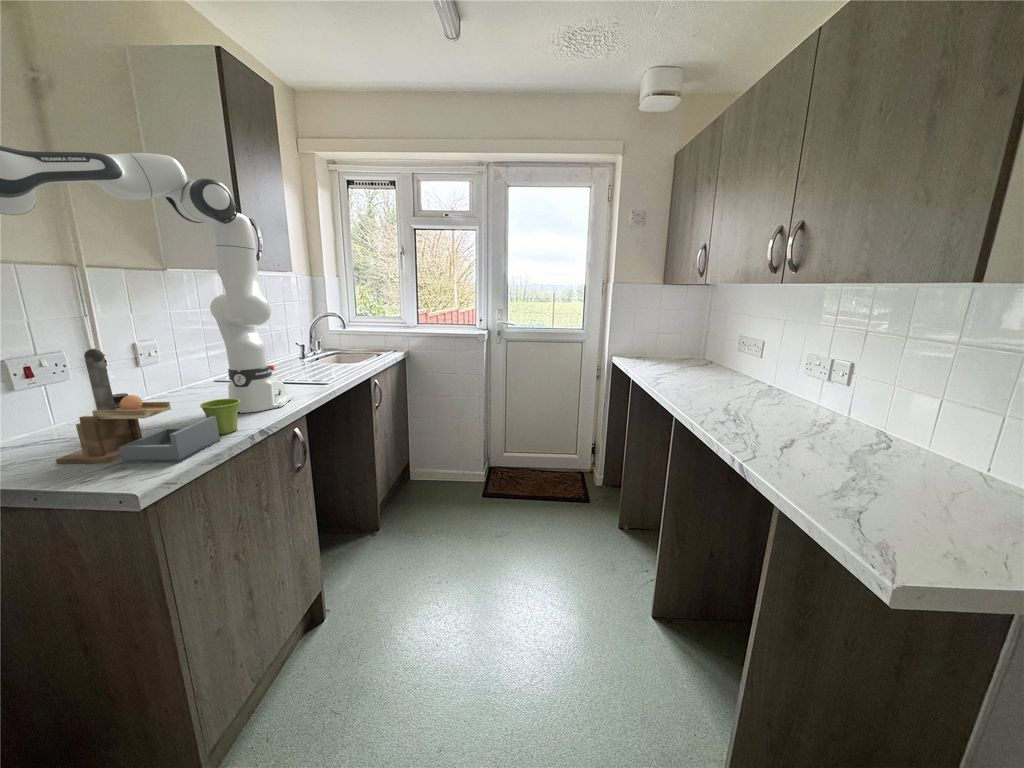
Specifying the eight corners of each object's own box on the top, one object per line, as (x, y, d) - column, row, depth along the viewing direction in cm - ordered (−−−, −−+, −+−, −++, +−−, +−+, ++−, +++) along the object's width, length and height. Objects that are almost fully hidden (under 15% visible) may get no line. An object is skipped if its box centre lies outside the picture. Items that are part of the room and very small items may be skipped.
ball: (132, 408, 104) (128, 393, 103) (148, 408, 104) (144, 393, 103) (117, 413, 100) (114, 397, 99) (134, 413, 100) (130, 397, 99)
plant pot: (237, 424, 126) (233, 396, 124) (249, 430, 120) (244, 401, 118) (200, 432, 119) (195, 403, 117) (211, 439, 113) (205, 409, 111)
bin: (169, 441, 112) (163, 417, 110) (220, 441, 112) (215, 416, 110) (122, 463, 98) (115, 435, 96) (180, 462, 98) (174, 434, 97)
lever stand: (111, 442, 111) (102, 403, 109) (156, 442, 111) (148, 402, 109) (56, 464, 98) (44, 419, 95) (108, 463, 98) (97, 418, 95)
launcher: (117, 412, 107) (102, 346, 103) (172, 411, 107) (159, 346, 103) (84, 423, 98) (66, 352, 94) (144, 422, 98) (129, 351, 95)
